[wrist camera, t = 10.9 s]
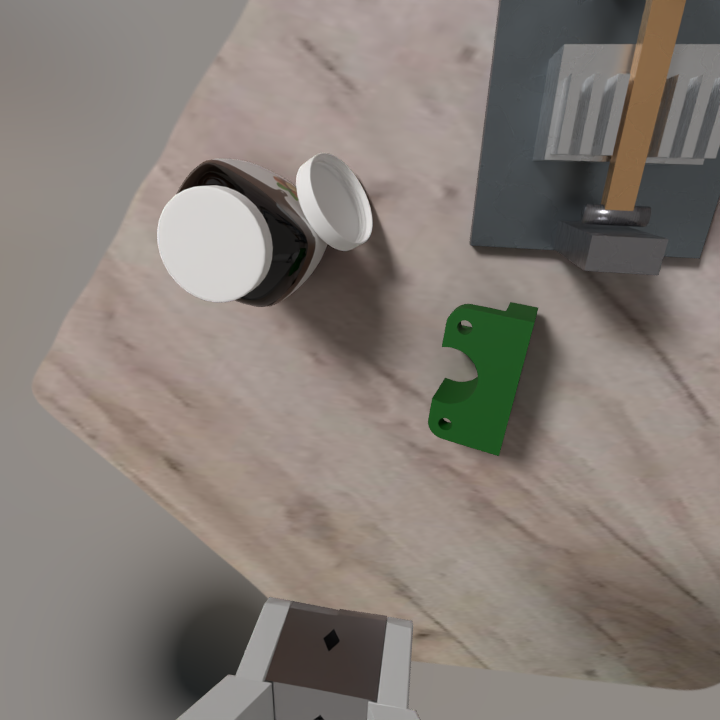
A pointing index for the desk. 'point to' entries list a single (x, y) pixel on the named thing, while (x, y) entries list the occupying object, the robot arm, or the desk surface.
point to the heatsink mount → (595, 134)
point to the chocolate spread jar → (259, 227)
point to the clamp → (483, 375)
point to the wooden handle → (638, 117)
